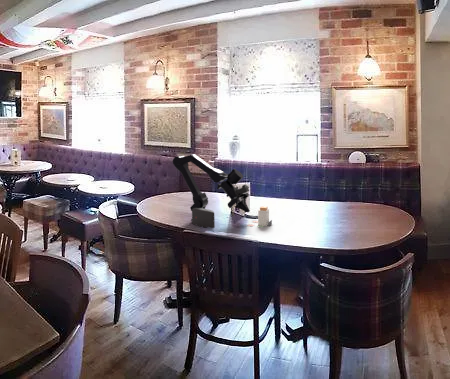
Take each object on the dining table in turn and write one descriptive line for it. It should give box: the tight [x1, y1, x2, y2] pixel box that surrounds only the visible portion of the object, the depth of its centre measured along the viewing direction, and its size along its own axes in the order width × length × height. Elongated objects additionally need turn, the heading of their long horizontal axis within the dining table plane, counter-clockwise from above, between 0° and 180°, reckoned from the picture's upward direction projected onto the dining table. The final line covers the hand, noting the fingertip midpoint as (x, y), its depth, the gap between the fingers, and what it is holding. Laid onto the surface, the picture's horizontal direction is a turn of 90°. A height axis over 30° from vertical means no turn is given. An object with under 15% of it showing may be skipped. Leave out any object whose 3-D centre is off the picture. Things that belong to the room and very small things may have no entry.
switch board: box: [247, 219, 273, 228], centre depth 215 cm, size 16×11×4 cm
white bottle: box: [257, 205, 270, 227], centre depth 212 cm, size 4×4×10 cm
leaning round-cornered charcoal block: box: [191, 208, 215, 229], centre depth 215 cm, size 16×5×9 cm, turn 48°
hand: (248, 211), depth 215 cm, fingers closed
